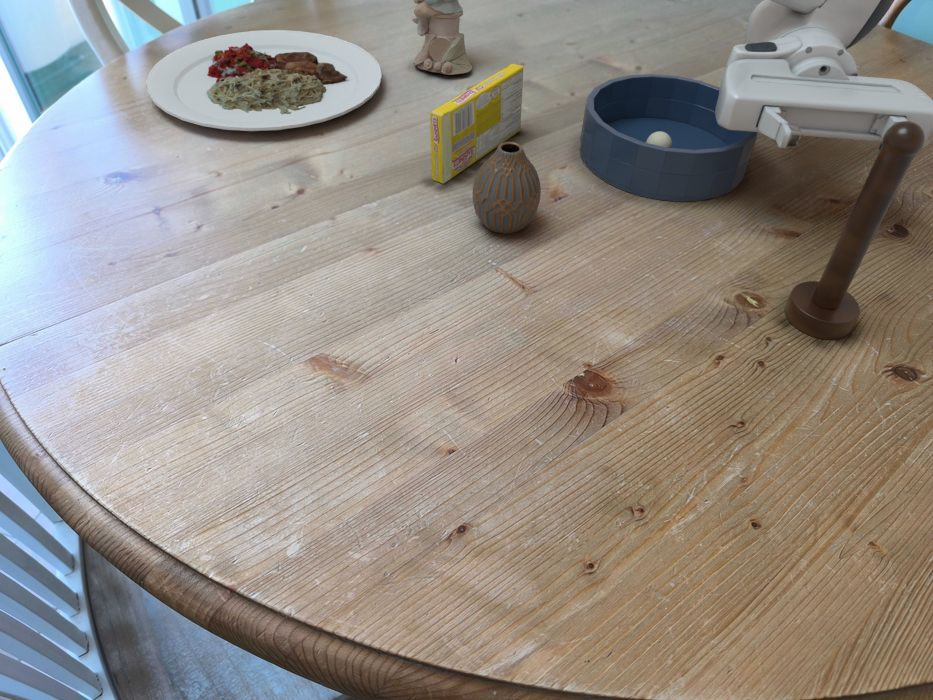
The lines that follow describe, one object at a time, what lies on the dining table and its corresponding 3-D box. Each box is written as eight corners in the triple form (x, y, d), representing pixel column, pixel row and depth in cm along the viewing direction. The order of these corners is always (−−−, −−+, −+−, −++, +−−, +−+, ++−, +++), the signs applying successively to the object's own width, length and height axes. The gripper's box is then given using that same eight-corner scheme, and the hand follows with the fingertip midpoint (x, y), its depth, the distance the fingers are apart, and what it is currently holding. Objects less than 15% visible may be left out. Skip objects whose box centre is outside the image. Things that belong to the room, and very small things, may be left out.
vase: (487, 248, 75) (493, 170, 69) (460, 212, 80) (463, 136, 74) (548, 234, 77) (558, 158, 71) (518, 200, 82) (526, 125, 76)
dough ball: (678, 154, 88) (664, 153, 90) (675, 128, 87) (661, 128, 89) (656, 161, 87) (642, 160, 90) (652, 135, 86) (639, 134, 89)
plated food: (319, 162, 86) (316, 135, 84) (98, 114, 92) (90, 88, 90) (415, 64, 107) (415, 40, 105) (230, 30, 113) (226, 6, 111)
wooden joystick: (841, 300, 72) (938, 108, 58) (859, 342, 67) (967, 145, 54) (778, 294, 72) (859, 101, 58) (791, 336, 67) (883, 138, 54)
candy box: (506, 126, 94) (512, 61, 89) (521, 131, 93) (527, 66, 88) (428, 179, 84) (428, 109, 79) (443, 185, 84) (445, 115, 78)
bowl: (730, 126, 97) (743, 81, 93) (758, 208, 83) (775, 160, 79) (578, 113, 98) (585, 68, 94) (580, 193, 84) (589, 144, 79)
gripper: (896, 117, 80) (943, 185, 70) (702, 102, 81) (722, 167, 70) (923, 58, 75) (978, 122, 65) (718, 43, 76) (741, 103, 66)
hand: (843, 145), depth 68 cm, fingers open, 8 cm apart
